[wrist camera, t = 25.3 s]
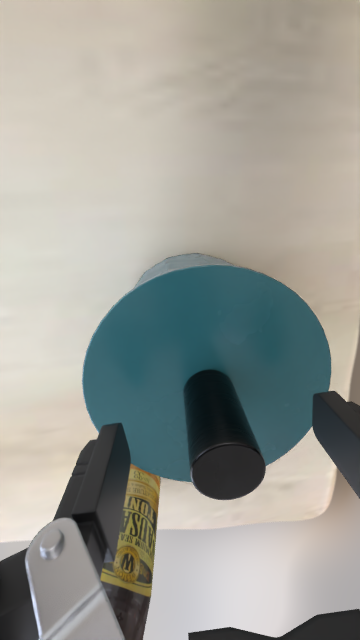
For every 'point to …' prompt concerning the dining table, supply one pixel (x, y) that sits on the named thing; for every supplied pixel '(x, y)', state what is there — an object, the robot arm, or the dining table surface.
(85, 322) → the dining table surface
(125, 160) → the dining table surface
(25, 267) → the dining table surface
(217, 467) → the pot lid
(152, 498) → the sauce bottle
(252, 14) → the dining table surface
